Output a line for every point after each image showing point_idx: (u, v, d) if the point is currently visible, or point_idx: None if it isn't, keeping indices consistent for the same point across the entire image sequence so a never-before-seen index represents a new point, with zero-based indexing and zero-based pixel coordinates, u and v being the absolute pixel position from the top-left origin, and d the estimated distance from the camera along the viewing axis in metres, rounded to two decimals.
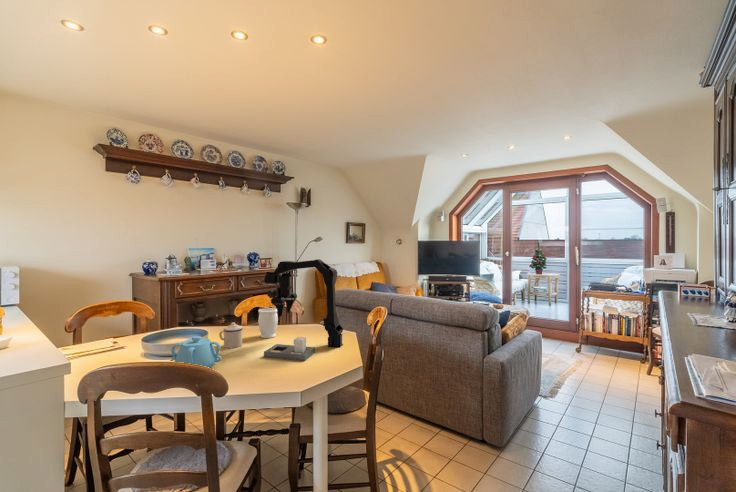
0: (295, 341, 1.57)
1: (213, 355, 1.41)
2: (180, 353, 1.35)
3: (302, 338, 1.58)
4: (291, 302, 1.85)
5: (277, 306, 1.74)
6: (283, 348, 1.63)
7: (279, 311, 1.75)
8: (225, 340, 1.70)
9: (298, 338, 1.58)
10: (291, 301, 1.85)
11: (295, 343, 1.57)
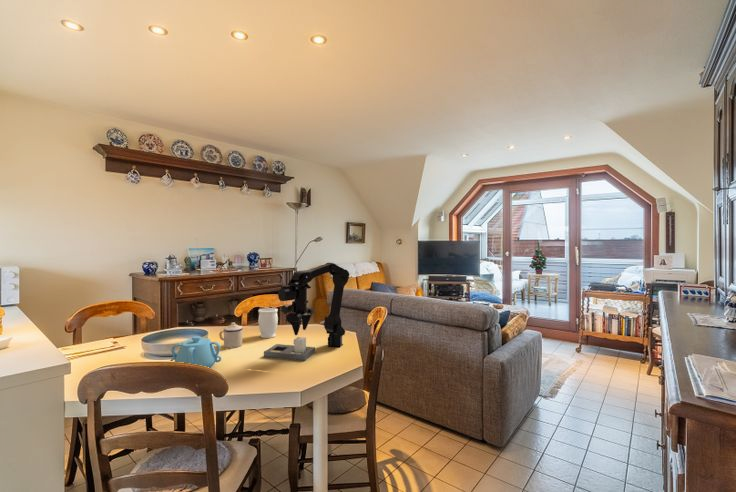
0: (295, 341, 1.57)
1: (213, 355, 1.41)
2: (180, 353, 1.35)
3: (302, 338, 1.58)
4: (308, 318, 1.63)
5: (293, 324, 1.52)
6: (283, 348, 1.63)
7: (295, 329, 1.53)
8: (225, 340, 1.70)
9: (298, 338, 1.58)
10: (308, 317, 1.63)
11: (295, 343, 1.57)
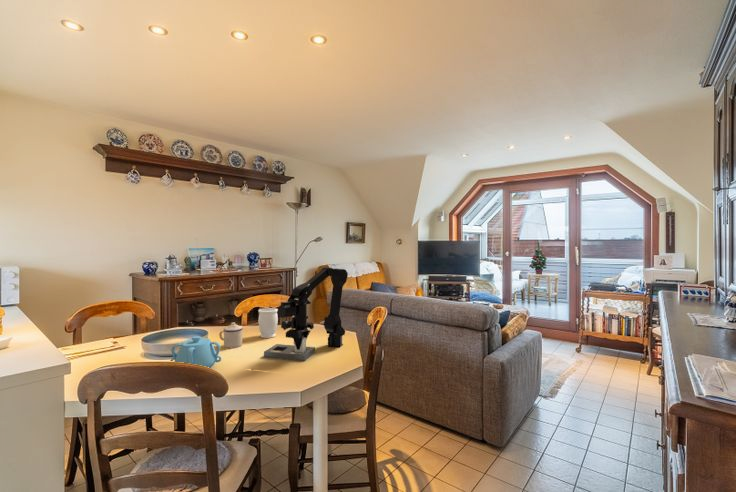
0: None
1: (213, 355, 1.41)
2: (180, 353, 1.35)
3: None
4: (305, 334, 1.60)
5: (295, 338, 1.55)
6: (283, 348, 1.63)
7: (297, 344, 1.55)
8: (225, 340, 1.70)
9: None
10: (305, 333, 1.60)
11: None
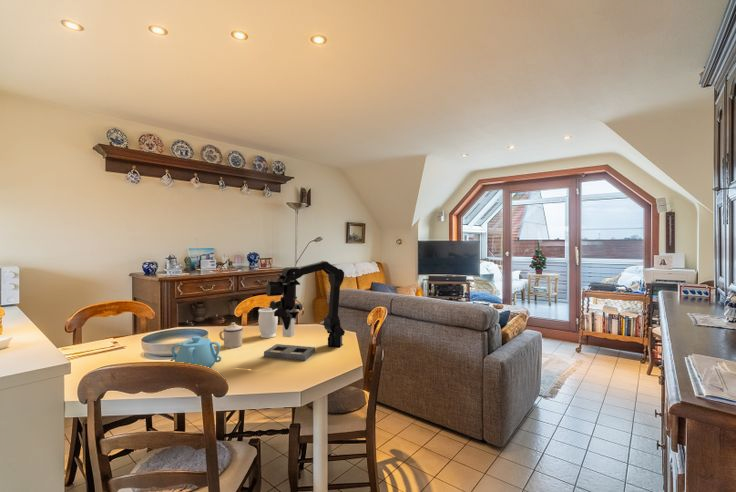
0: None
1: (213, 355, 1.41)
2: (180, 353, 1.35)
3: (291, 318, 1.59)
4: (294, 315, 1.61)
5: (283, 318, 1.55)
6: (283, 348, 1.63)
7: (285, 324, 1.56)
8: (225, 340, 1.70)
9: None
10: (294, 314, 1.61)
11: (283, 323, 1.57)
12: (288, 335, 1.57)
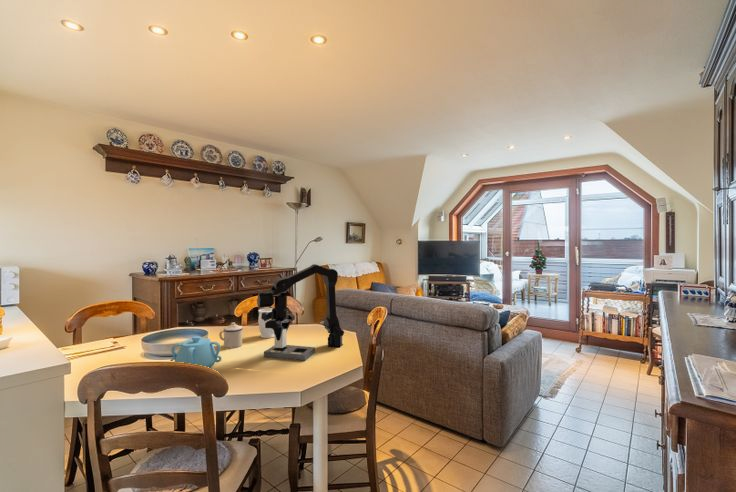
0: None
1: (213, 355, 1.41)
2: (180, 353, 1.35)
3: None
4: (286, 326, 1.62)
5: (275, 329, 1.57)
6: (283, 348, 1.63)
7: (277, 335, 1.57)
8: (225, 340, 1.70)
9: None
10: (286, 324, 1.62)
11: None
12: (280, 346, 1.58)
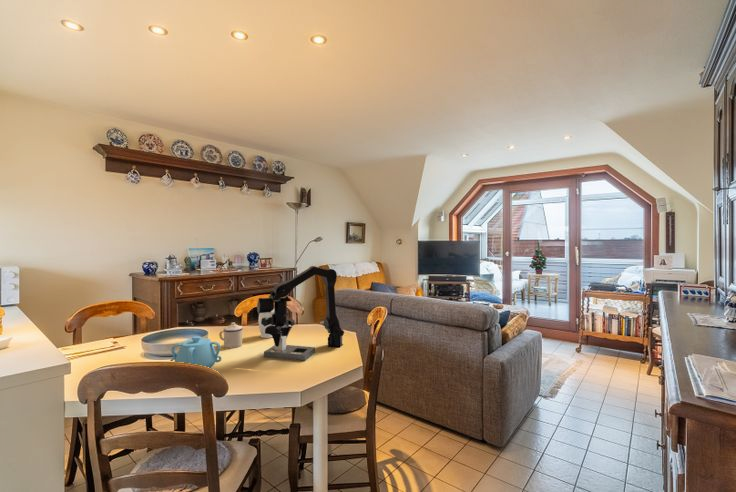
0: None
1: (213, 355, 1.41)
2: (180, 353, 1.35)
3: (282, 336, 1.60)
4: (287, 330, 1.63)
5: (273, 335, 1.56)
6: None
7: (276, 341, 1.56)
8: (225, 340, 1.70)
9: None
10: (287, 329, 1.64)
11: None
12: None
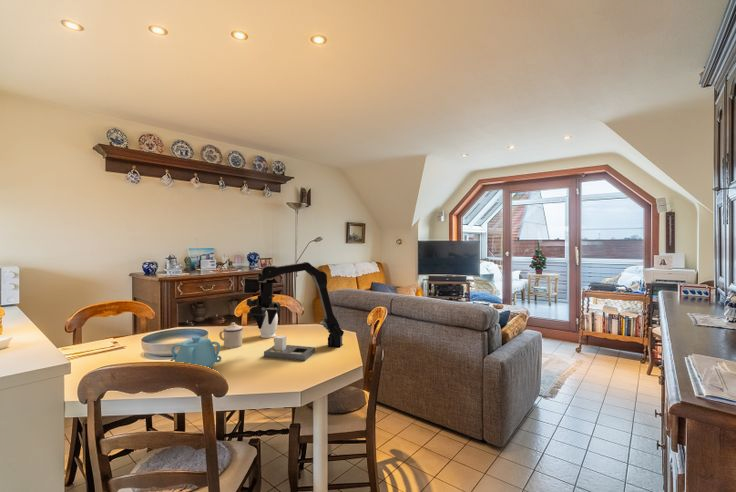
0: (275, 339, 1.59)
1: (213, 355, 1.41)
2: (180, 353, 1.35)
3: (282, 336, 1.60)
4: (273, 312, 1.64)
5: (256, 317, 1.53)
6: None
7: (259, 323, 1.54)
8: (225, 340, 1.70)
9: (278, 337, 1.60)
10: (273, 311, 1.64)
11: (275, 341, 1.59)
12: None
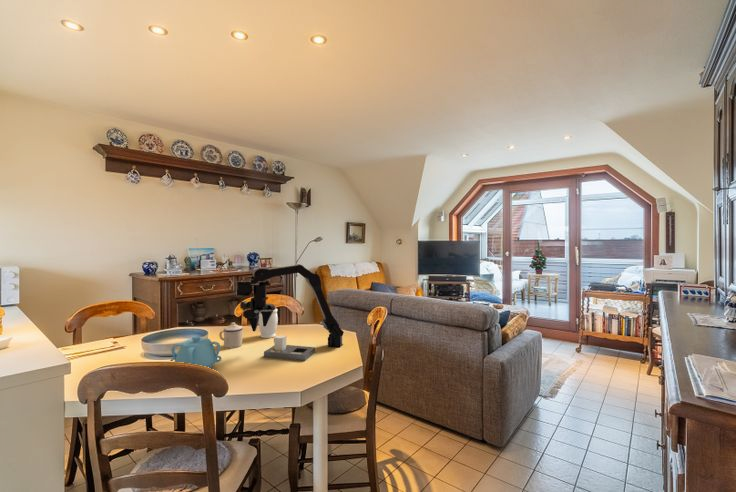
0: (275, 339, 1.59)
1: (213, 355, 1.41)
2: (180, 353, 1.35)
3: (282, 336, 1.60)
4: (268, 314, 1.64)
5: (250, 320, 1.53)
6: None
7: (253, 325, 1.54)
8: (225, 340, 1.70)
9: (278, 337, 1.60)
10: (268, 313, 1.64)
11: (275, 341, 1.59)
12: None
